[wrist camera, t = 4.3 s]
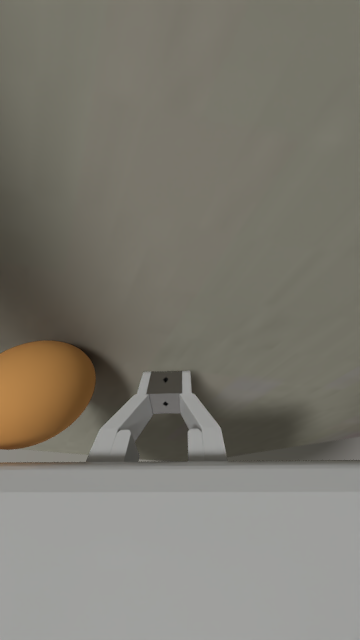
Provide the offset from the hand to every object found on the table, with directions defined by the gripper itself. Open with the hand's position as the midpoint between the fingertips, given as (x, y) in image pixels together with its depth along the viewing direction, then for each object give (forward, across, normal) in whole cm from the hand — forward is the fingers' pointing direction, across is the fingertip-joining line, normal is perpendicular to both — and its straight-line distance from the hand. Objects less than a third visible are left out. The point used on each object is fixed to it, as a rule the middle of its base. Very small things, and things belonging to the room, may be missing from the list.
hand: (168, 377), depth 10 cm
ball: (-1, +7, -1) cm, 7 cm away
